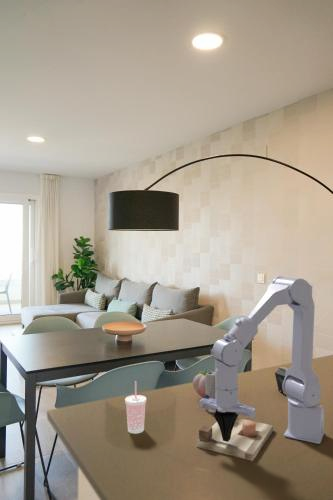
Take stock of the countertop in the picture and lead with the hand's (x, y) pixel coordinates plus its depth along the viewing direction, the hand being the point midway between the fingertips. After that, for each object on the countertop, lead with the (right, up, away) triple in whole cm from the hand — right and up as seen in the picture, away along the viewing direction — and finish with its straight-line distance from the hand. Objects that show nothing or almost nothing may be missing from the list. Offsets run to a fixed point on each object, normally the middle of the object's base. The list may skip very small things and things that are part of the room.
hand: (226, 439), depth 106 cm
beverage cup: (-24, -3, +12) cm, 27 cm away
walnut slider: (-5, -1, +3) cm, 6 cm away
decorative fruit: (-2, -3, +36) cm, 36 cm away
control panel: (+4, -3, +6) cm, 8 cm away
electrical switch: (+28, -3, +40) cm, 49 cm away
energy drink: (0, -3, +26) cm, 26 cm away
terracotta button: (+7, -2, +6) cm, 10 cm away
